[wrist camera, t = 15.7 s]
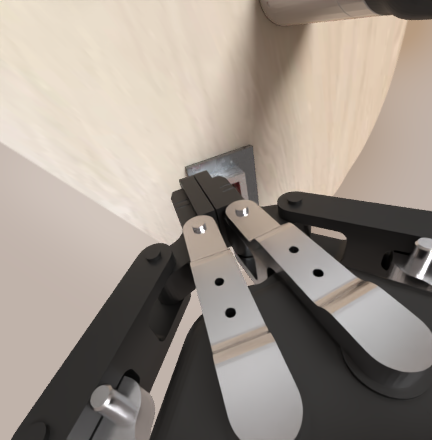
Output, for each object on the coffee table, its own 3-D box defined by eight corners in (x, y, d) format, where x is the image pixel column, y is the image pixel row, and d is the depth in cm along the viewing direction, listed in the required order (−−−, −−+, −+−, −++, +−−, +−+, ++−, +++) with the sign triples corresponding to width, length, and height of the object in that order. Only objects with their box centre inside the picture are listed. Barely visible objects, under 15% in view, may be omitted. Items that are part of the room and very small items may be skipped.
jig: (250, 144, 45) (262, 152, 42) (256, 206, 54) (267, 217, 50) (185, 166, 43) (192, 177, 40) (203, 226, 52) (209, 239, 49)
